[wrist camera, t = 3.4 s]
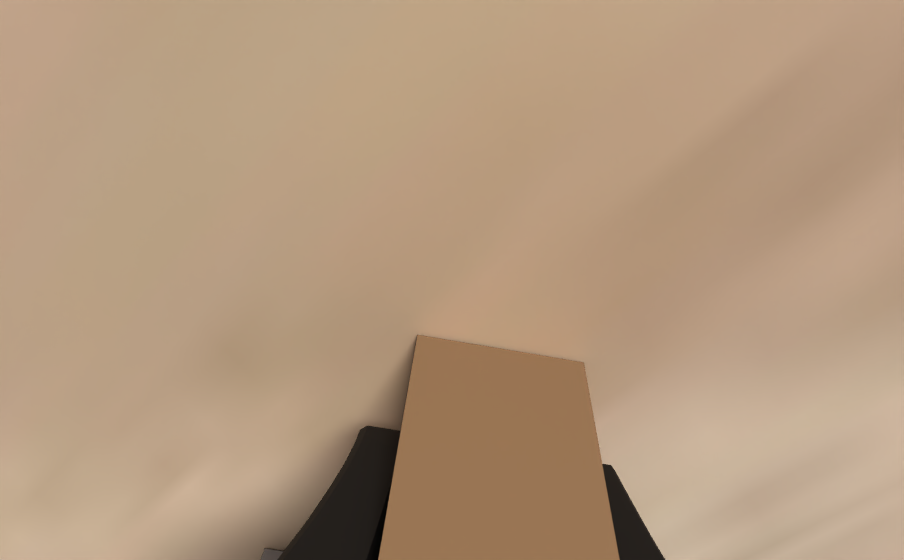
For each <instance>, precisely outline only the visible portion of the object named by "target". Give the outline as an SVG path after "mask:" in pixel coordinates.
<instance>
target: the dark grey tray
mask: <svg viewBox="0 0 904 560" xmlns="http://www.w3.org/2000/svg"><path fill="white" fill-rule="evenodd" d="M283 552H284V551H278V550H271V549H264V552H263V555H262V557H261V560H277V559H278V558H279V557H280V555H281V554H282V553H283Z"/></svg>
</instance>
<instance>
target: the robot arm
mask: <svg viewBox="0 0 904 560" xmlns="http://www.w3.org/2000/svg"><path fill="white" fill-rule="evenodd" d="M400 433H401V431H397V430H391V429H385V428H379V427H373V426H366V427H364V428H363V429H361V430H360V432H359V434H358V437H357V440H356V442H355V444H354V446H353V448H352V450H351V452H350V454H349V456H348V458H347V460H346V461H345V463H344V465H343V467H342V468H341V470H340V472H339V473H338V475H337V477H336V478H335V480H334V482H333V483H332V485H331V486H330V488H329V489H328V491H327V492H326V494H325V495H324V497H323V498H322V500H321V501H320V503H319V504H318V506H317V507H316V509H315V510H314V512H313V513H312V514H311V516H310V517H309V519H308V520H307V522H306V523H305V524H304V526H303V527H302V528H301V530H300V531H299V532H298V533H297V535H296V536H295V537H294V539H293V540H292V541H291V542H290V544H289V545H288V546H287V548H286V549H285V550H284V552H283V553H282V554H281V555H280V557H279V558H278V559H277V560H378V558H379V553H380V547H381V541H382V536H383V530H384V524H385V518H386V513H387V507H388V501H389V496H390V490H391V484H392V478H393V473H394V467H395V461H396V455H397V450H398V444H399V438H400ZM602 466H603V471H604V477H605V482H606V488H607V493H608V499H609V504H610V510H611V515H612V521H613V526H614V532H615V537H616V543H617V548H618V554H619V559H620V560H665V558H664V557H663V555H662V554H661V552H660V550H659V549H658V547H657V545H656V544H655V542H654V540H653V538H652V537H651V535H650V533H649V531H648V530H647V528H646V526H645V524H644V523H643V521H642V519H641V517H640V516H639V514H638V512H637V510H636V508H635V507H634V505H633V503H632V501H631V499H630V498H629V496H628V494H627V492H626V490H625V488H624V486H623V485H622V483H621V481H620V479H619V477H618V475H617V474H616V472H615V470H614V469H613V467H612V466H611V465H606V464H602Z"/></svg>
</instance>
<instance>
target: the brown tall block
mask: <svg viewBox="0 0 904 560" xmlns="http://www.w3.org/2000/svg"><path fill="white" fill-rule="evenodd" d="M378 560H620V559H619V554H618V548H617V543H616V537H615V532H614V526H613V521H612V515H611V510H610V504H609V499H608V493H607V488H606V482H605V477H604V471H603V466H602V460H601V455H600V449H599V444H598V438H597V433H596V427H595V422H594V416H593V411H592V405H591V400H590V394H589V389H588V383H587V378H586V372H585V367H584V363H583V362H577V361H571V360H565V359H559V358H553V357H547V356H541V355H535V354H529V353H523V352H517V351H511V350H505V349H499V348H493V347H487V346H481V345H475V344H469V343H463V342H457V341H451V340H445V339H439V338H433V337H427V336H421V335H417V341H416V347H415V352H414V358H413V364H412V370H411V375H410V381H409V387H408V392H407V398H406V404H405V410H404V415H403V421H402V427H401V433H400V438H399V444H398V450H397V455H396V461H395V467H394V473H393V478H392V484H391V490H390V496H389V501H388V507H387V513H386V518H385V524H384V530H383V536H382V541H381V547H380V553H379V558H378Z"/></svg>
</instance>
